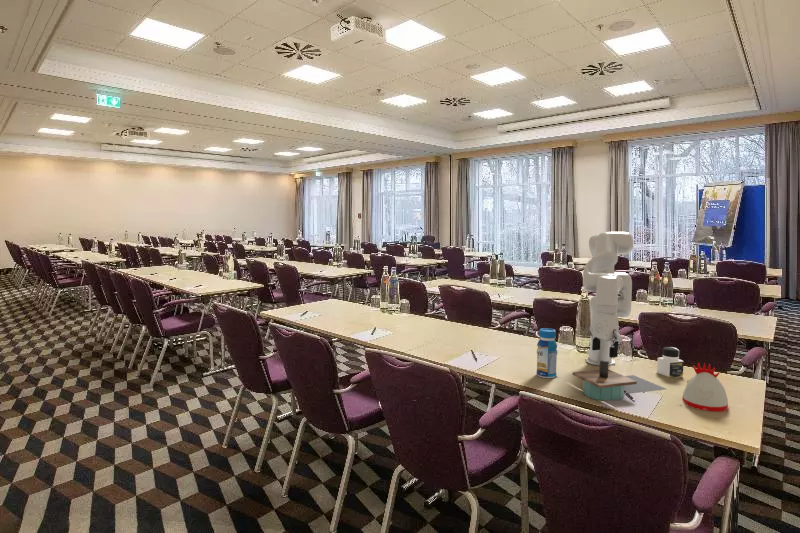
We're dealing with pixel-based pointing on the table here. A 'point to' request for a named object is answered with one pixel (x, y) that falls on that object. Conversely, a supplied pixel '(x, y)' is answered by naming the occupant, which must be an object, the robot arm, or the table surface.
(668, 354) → the medicine bottle
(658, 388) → the mat
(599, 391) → the bowl
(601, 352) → the robot arm
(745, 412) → the table surface
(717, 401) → the kitchen timer
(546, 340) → the beverage bottle
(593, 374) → the lid
